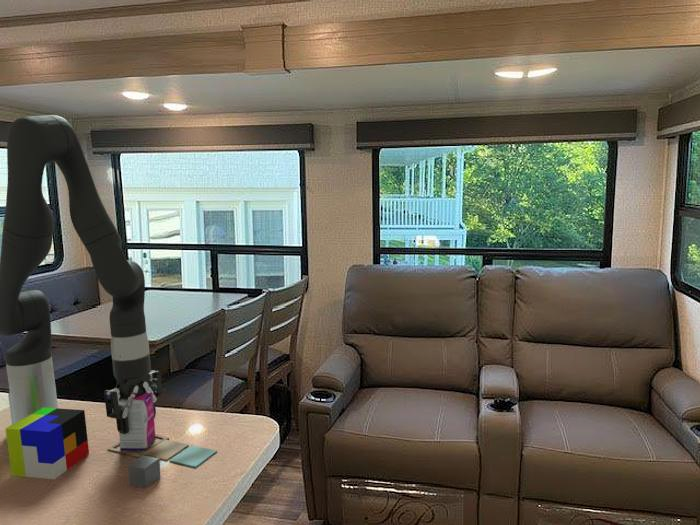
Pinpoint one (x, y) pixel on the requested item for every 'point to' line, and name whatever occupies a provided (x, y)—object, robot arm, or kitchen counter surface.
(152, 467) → the cube
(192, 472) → the kitchen counter surface
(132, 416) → the supplement box
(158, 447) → the track
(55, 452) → the puzzle toy
